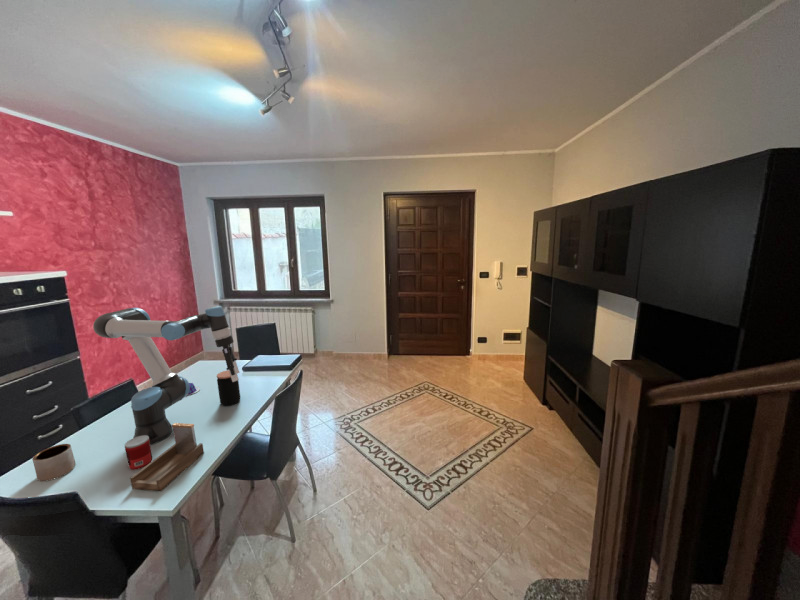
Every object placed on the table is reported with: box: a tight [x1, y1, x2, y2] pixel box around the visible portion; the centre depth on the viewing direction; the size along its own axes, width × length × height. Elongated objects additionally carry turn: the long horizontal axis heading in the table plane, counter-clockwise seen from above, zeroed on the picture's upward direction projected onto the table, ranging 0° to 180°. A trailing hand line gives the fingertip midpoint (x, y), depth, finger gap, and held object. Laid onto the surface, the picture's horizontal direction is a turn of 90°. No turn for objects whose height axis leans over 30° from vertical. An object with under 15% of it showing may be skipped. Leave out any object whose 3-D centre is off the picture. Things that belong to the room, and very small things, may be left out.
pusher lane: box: [129, 442, 205, 493], centre depth 129 cm, size 12×22×5 cm, turn 173°
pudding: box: [187, 382, 201, 396], centre depth 198 cm, size 12×12×5 cm
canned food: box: [124, 435, 154, 471], centre depth 132 cm, size 8×8×11 cm
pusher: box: [171, 422, 198, 454], centre depth 137 cm, size 9×2×14 cm, turn 83°
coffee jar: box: [216, 369, 241, 407], centre depth 183 cm, size 11×11×18 cm
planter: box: [32, 443, 77, 482], centre depth 129 cm, size 11×11×10 cm
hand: (236, 377), depth 156 cm, fingers open, 13 cm apart
